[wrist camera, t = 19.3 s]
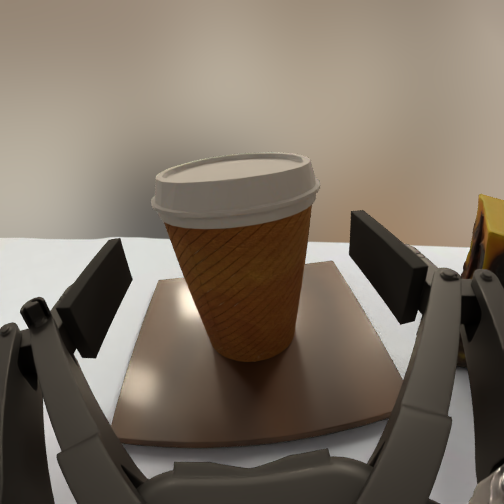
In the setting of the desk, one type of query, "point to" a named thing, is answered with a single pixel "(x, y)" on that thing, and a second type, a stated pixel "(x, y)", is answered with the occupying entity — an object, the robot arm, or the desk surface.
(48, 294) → the desk surface
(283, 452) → the desk surface
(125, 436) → the placemat
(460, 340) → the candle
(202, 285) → the disposable coffee cup
